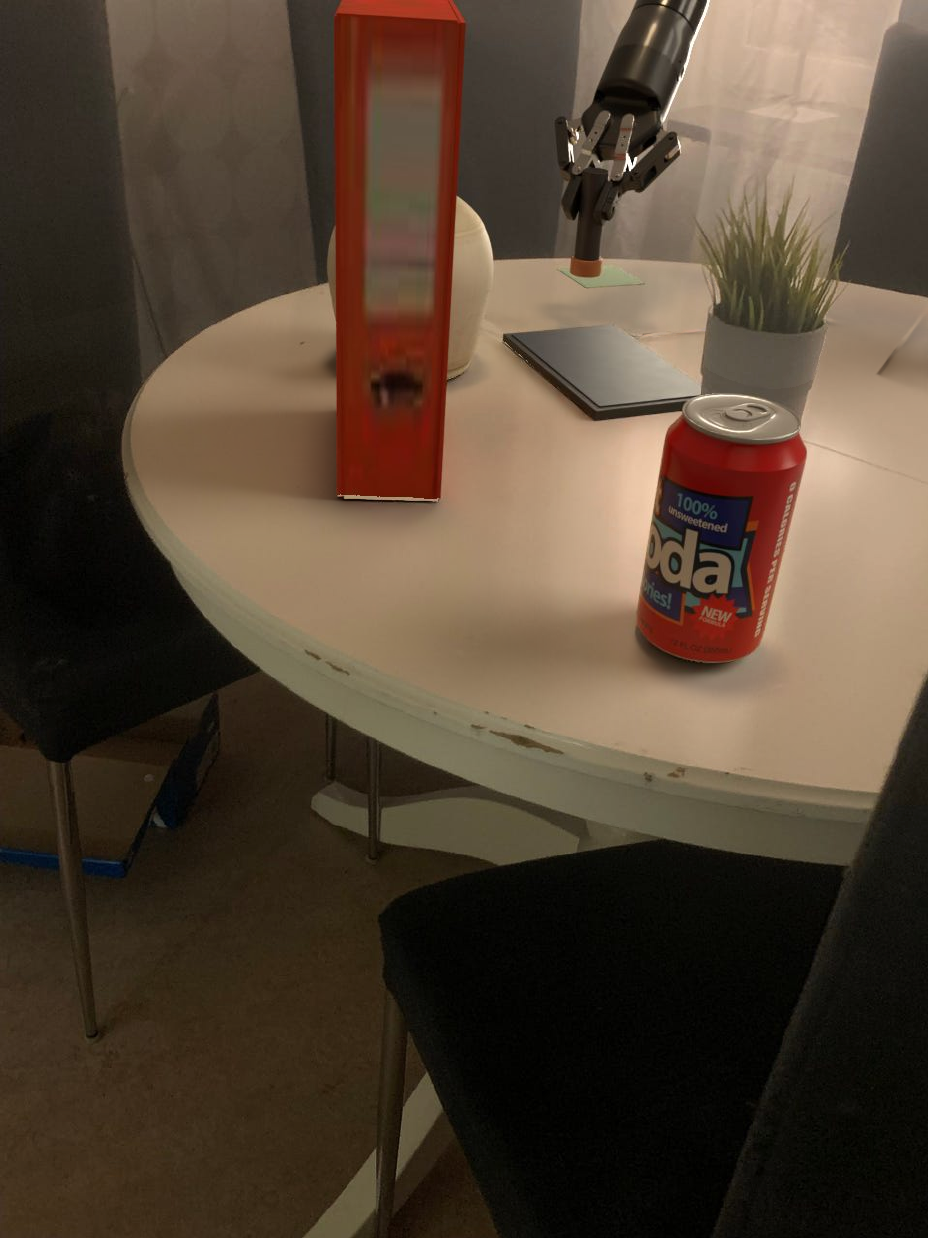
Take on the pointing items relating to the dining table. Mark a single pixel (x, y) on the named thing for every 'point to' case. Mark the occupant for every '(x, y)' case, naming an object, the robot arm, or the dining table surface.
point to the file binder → (394, 238)
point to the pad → (605, 278)
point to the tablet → (605, 370)
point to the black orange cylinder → (589, 226)
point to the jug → (456, 285)
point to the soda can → (720, 526)
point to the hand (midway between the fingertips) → (583, 217)
